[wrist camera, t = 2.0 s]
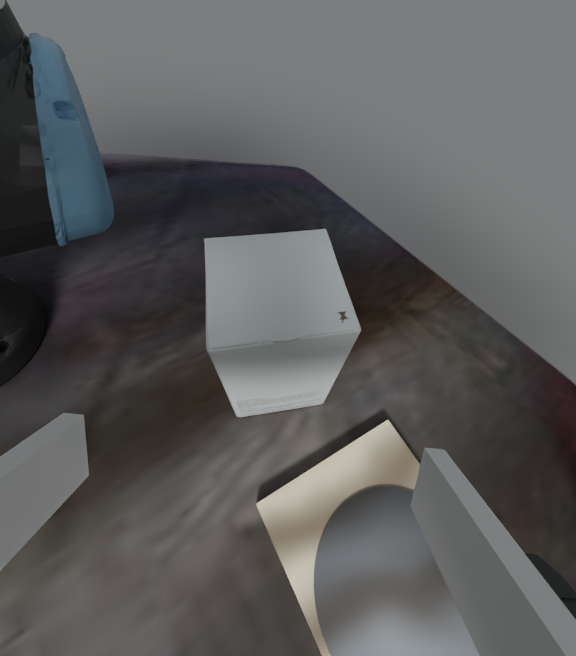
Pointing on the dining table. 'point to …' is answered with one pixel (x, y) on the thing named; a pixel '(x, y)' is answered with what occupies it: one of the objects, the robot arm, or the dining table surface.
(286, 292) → the supplement box
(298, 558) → the board
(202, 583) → the dining table surface
